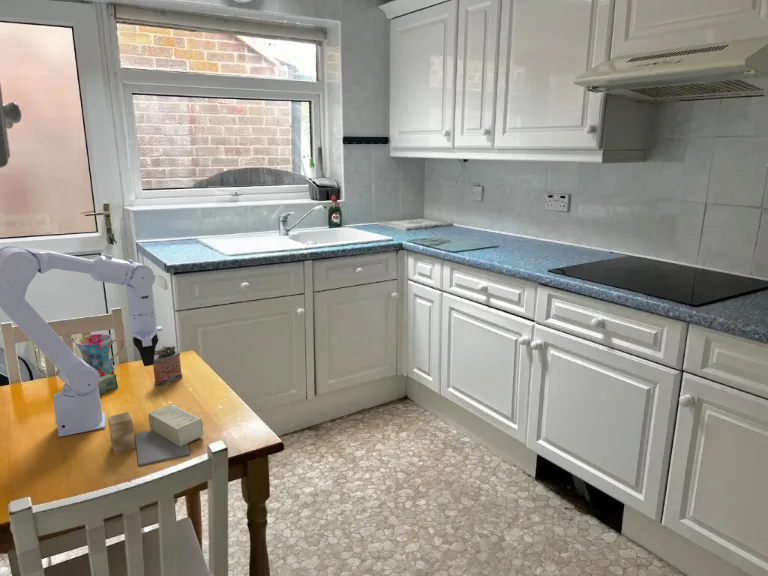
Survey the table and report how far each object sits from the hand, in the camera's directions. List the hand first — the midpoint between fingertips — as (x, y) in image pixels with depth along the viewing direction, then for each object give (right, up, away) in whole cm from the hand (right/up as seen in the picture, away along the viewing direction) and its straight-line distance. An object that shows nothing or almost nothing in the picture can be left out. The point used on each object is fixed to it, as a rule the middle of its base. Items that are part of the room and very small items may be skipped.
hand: (148, 364), depth 141 cm
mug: (-22, -6, +22) cm, 31 cm away
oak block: (+2, -15, -18) cm, 24 cm away
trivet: (+10, -15, -17) cm, 25 cm away
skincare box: (+7, -10, -10) cm, 16 cm away
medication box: (-17, -9, +8) cm, 21 cm away
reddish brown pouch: (-1, -7, +16) cm, 18 cm away
